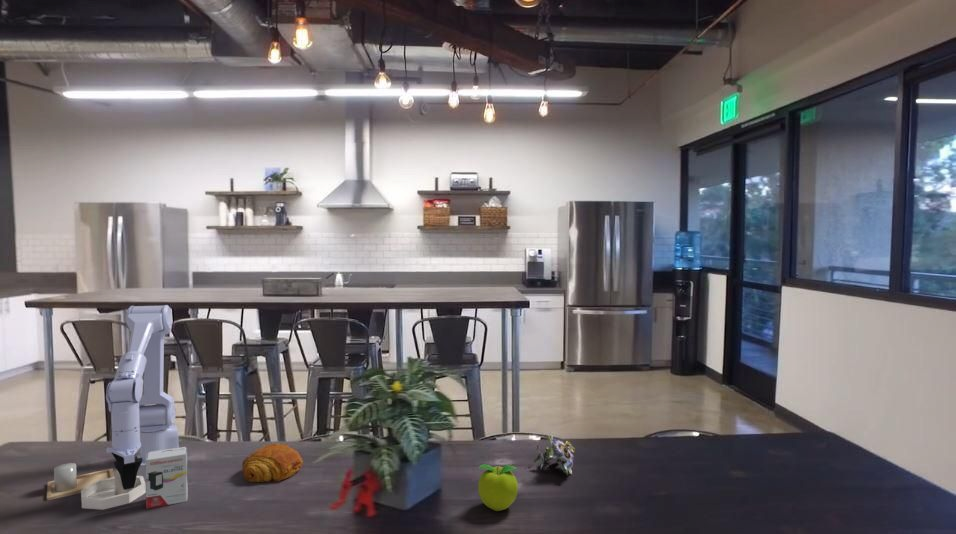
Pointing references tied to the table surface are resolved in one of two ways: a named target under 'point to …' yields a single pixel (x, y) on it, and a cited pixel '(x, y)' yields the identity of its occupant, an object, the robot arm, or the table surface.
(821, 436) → the table surface
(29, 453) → the table surface
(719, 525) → the table surface
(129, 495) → the white octagonal dish
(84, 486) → the oak tray
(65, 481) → the stone
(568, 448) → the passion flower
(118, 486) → the grey rounded cylinder
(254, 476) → the croissant
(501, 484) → the fruit
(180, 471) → the ink box
